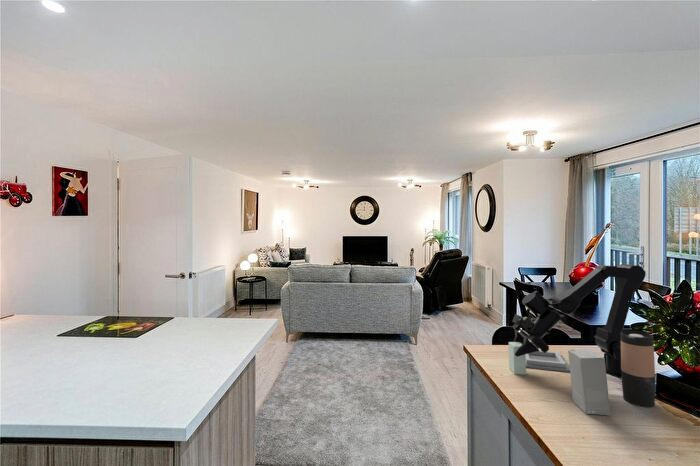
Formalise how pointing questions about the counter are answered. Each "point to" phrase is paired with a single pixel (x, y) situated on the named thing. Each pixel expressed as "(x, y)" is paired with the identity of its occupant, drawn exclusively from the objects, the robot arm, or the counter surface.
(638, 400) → the travel mug
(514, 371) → the rectangular block
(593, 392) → the skincare box
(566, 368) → the charging dock
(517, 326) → the robot arm
